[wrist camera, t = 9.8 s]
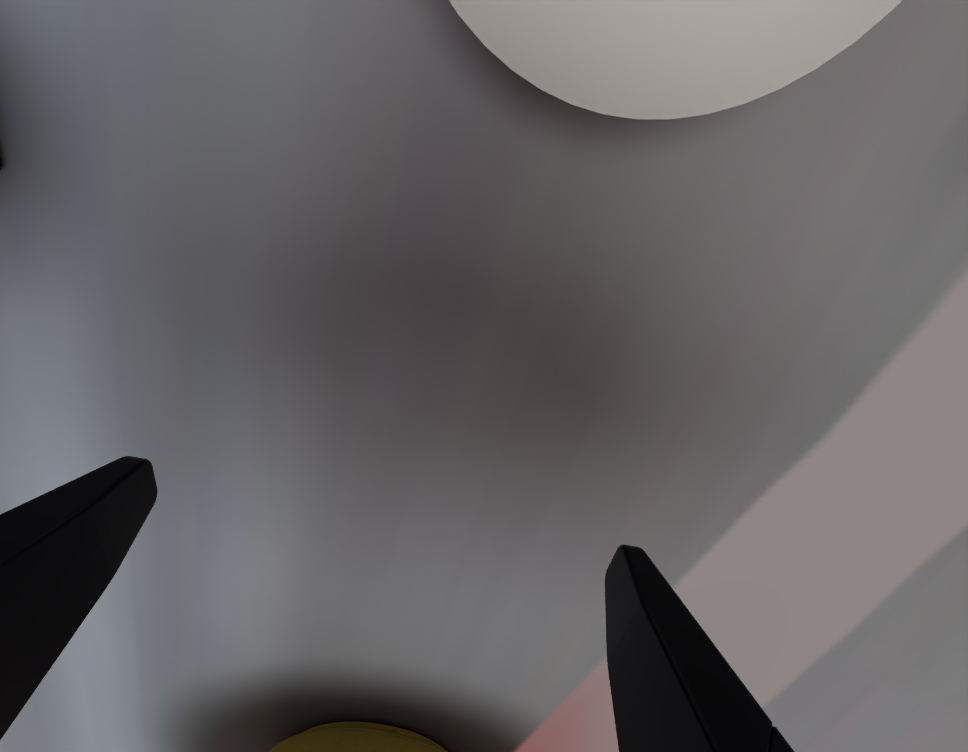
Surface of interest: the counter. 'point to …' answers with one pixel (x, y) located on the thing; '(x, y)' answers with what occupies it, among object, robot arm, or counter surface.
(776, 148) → the counter surface
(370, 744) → the planter bowl
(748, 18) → the lid
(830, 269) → the counter surface
